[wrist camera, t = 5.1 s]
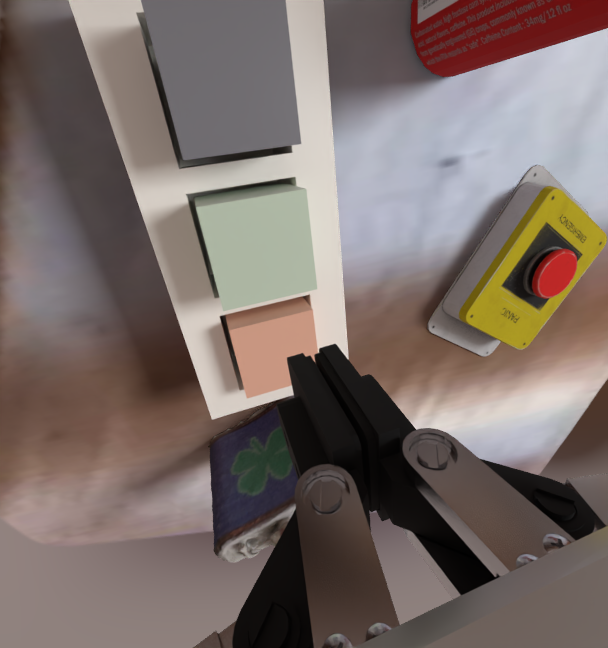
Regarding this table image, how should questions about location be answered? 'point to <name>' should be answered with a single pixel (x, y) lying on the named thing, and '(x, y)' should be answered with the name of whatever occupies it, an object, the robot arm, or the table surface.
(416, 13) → the soda can
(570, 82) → the table surface
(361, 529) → the robot arm
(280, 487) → the flask
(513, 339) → the emergency button
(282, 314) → the terracotta key
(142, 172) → the key block
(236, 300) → the sage key
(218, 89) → the charcoal key
